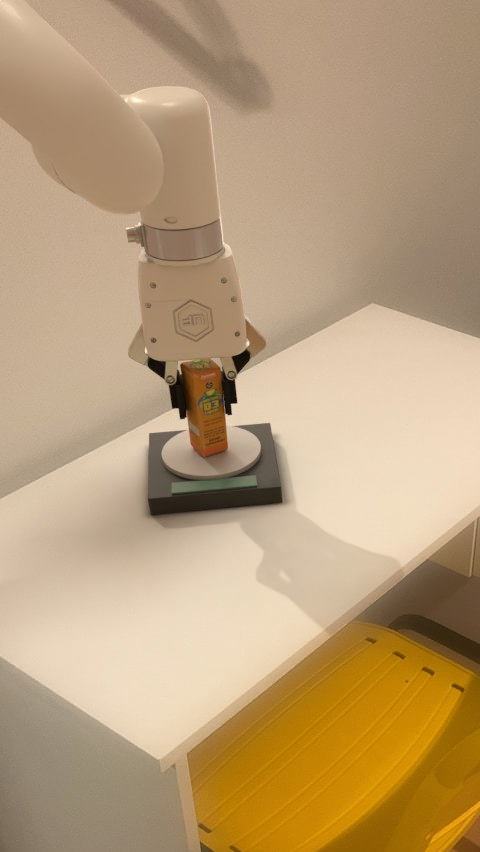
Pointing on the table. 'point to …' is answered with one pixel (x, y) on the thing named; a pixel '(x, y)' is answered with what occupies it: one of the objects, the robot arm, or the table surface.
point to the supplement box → (204, 406)
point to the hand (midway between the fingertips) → (205, 409)
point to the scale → (212, 471)
